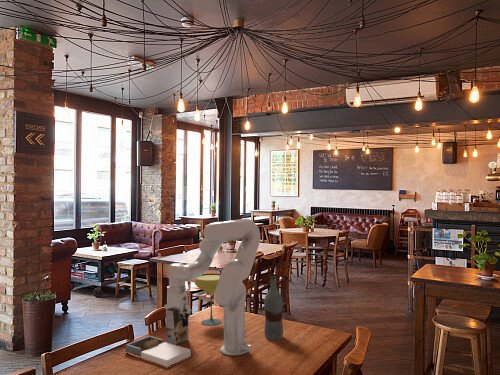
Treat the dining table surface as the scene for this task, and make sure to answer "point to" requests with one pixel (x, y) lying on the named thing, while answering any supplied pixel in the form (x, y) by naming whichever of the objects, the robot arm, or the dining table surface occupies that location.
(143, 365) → the dining table surface
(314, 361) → the dining table surface
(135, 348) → the tray
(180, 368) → the dining table surface
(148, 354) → the white flat block
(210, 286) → the cocktail glass
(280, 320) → the bottle
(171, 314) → the coffee box
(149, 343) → the tile
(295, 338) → the dining table surface
